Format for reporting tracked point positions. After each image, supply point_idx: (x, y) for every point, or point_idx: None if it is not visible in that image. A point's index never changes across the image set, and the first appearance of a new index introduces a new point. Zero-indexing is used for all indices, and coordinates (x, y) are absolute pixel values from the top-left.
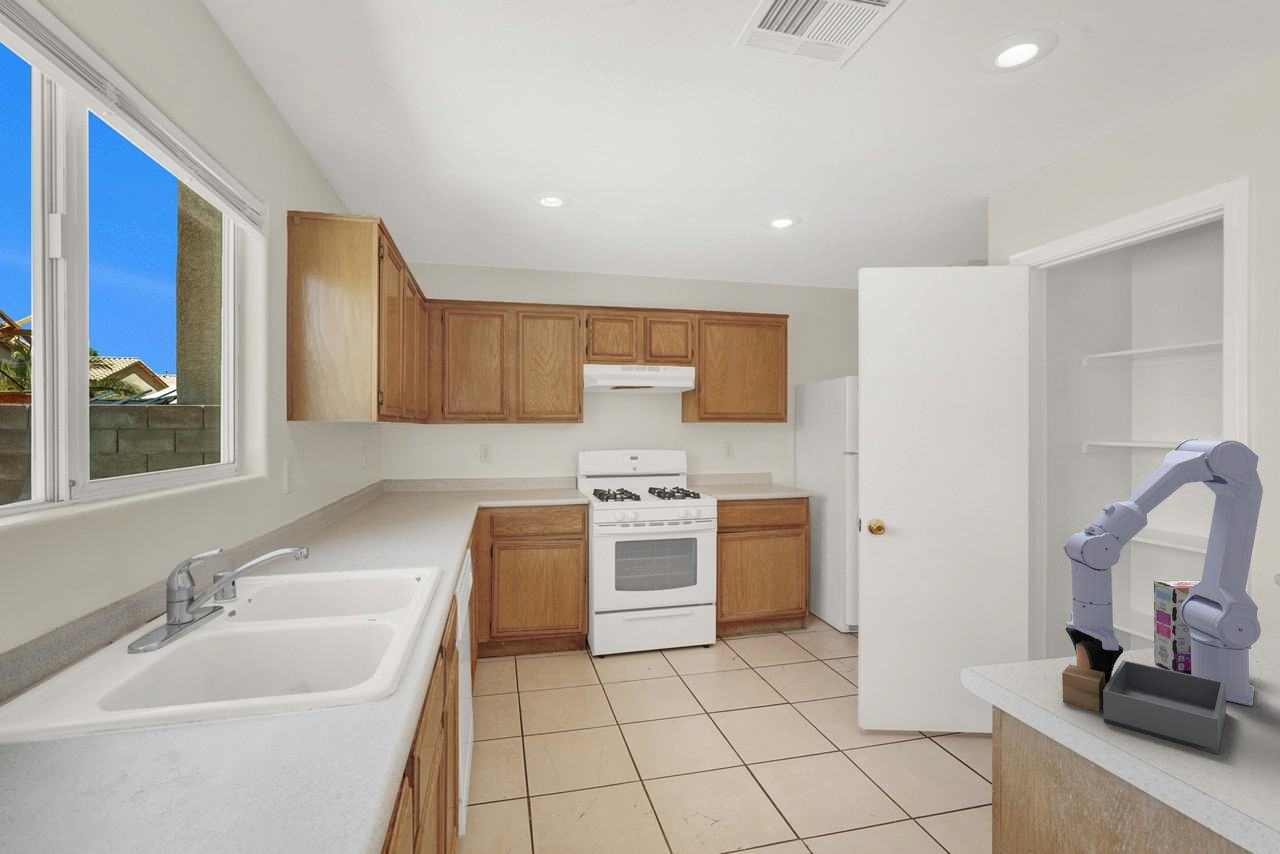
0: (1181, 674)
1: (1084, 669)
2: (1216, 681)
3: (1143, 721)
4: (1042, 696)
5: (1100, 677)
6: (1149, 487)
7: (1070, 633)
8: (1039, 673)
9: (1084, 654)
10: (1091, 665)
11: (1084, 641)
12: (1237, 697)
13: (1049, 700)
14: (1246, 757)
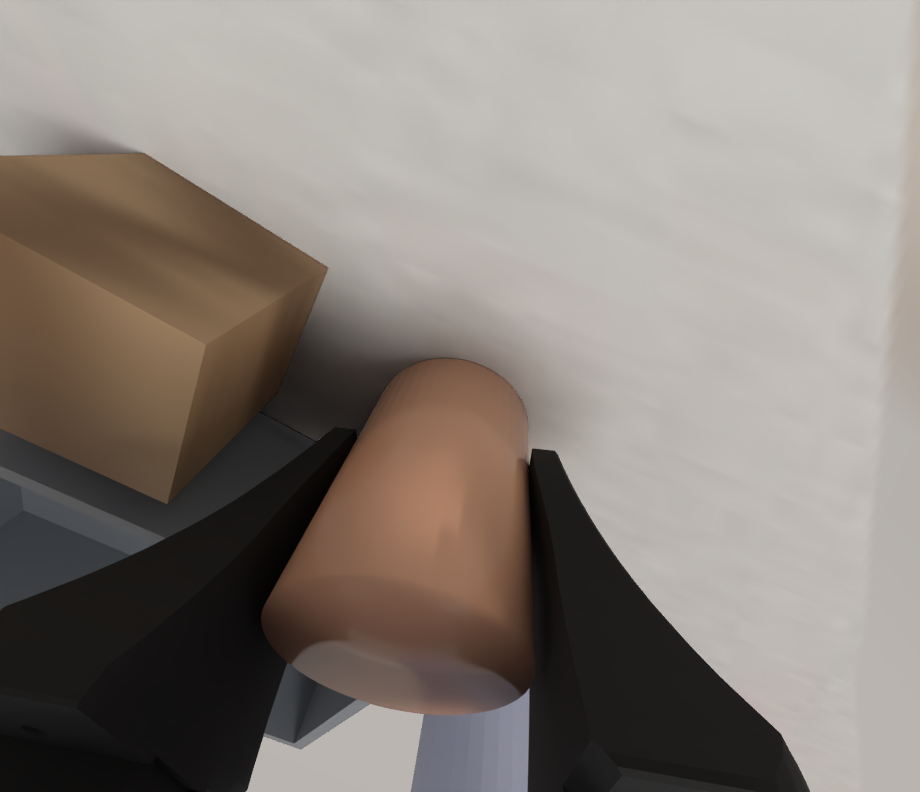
0: (331, 714)
1: (140, 411)
2: (298, 740)
3: None
4: (145, 4)
5: (40, 443)
6: None
7: (589, 726)
8: (631, 174)
9: (311, 539)
10: (254, 490)
11: (44, 710)
12: None
13: (99, 44)
14: None
